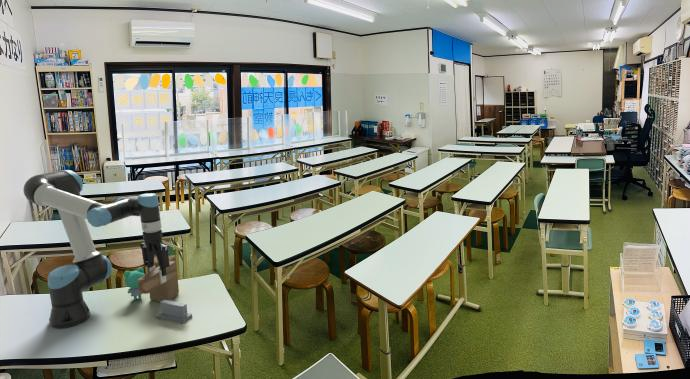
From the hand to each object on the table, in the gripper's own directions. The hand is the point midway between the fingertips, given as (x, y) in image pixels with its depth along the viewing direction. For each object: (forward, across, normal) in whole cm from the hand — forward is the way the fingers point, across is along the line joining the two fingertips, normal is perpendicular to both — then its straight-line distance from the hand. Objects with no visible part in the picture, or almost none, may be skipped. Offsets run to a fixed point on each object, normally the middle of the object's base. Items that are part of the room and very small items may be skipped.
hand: (158, 281), depth 186 cm
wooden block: (+18, -15, +16) cm, 28 cm away
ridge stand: (+18, +4, +3) cm, 18 cm away
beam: (+1, 0, 0) cm, 1 cm away
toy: (+17, -26, +10) cm, 32 cm away
